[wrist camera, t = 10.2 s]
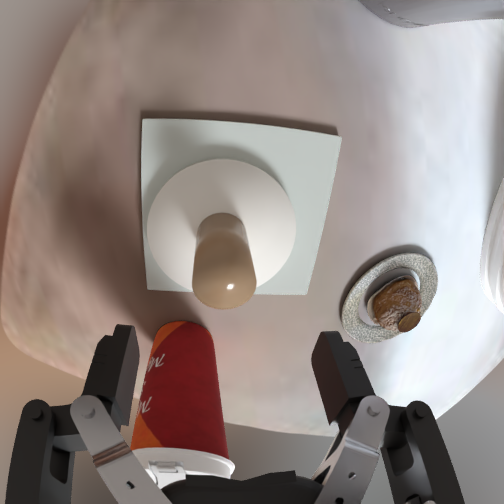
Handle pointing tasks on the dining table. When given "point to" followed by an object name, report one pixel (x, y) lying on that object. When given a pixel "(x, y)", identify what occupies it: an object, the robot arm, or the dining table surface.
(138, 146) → the dining table surface
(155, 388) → the coffee cup
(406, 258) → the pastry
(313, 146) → the rubber mat
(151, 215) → the cup lid
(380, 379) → the dining table surface
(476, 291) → the dining table surface
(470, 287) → the dining table surface
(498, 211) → the plate stack
